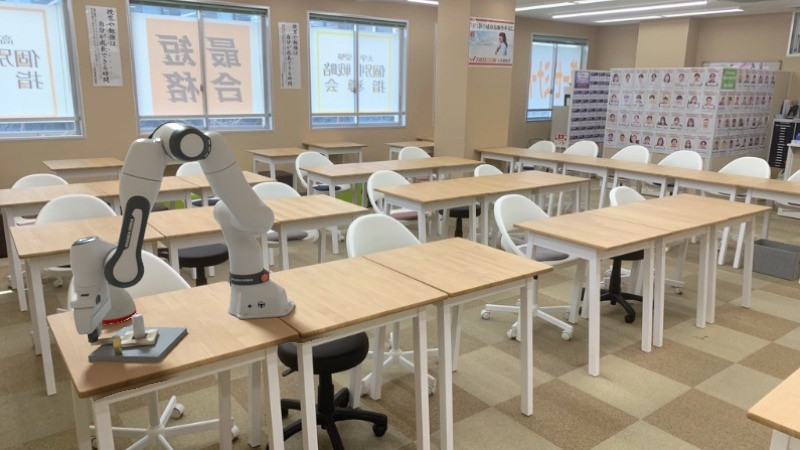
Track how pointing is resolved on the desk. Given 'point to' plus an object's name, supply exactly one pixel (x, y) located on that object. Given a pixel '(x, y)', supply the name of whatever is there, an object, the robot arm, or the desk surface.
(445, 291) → the desk surface
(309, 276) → the desk surface
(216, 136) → the robot arm
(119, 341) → the gold rounded cylinder
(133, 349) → the board
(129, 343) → the knobbed lever handle
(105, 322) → the kitchen timer
